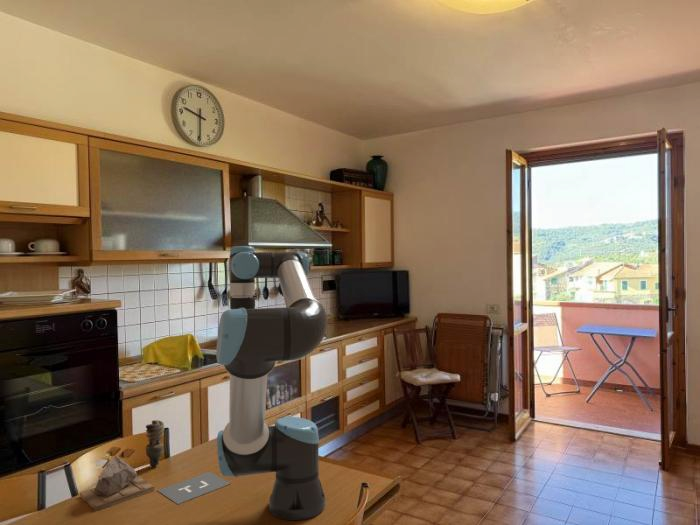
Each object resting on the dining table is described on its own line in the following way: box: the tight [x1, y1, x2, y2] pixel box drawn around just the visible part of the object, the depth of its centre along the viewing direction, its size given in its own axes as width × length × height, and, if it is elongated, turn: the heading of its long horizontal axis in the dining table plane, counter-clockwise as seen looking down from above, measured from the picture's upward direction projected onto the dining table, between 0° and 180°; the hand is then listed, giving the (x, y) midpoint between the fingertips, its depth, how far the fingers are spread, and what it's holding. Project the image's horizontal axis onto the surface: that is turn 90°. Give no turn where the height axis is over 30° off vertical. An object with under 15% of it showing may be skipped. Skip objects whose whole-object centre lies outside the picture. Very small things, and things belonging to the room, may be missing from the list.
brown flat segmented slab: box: [79, 474, 155, 512], centre depth 142 cm, size 12×16×1 cm
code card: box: [157, 471, 232, 505], centre depth 145 cm, size 12×17×1 cm
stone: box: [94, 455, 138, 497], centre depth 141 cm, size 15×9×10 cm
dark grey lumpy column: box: [145, 419, 165, 468], centre depth 160 cm, size 6×6×15 cm
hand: (242, 365), depth 151 cm, fingers open, 13 cm apart
